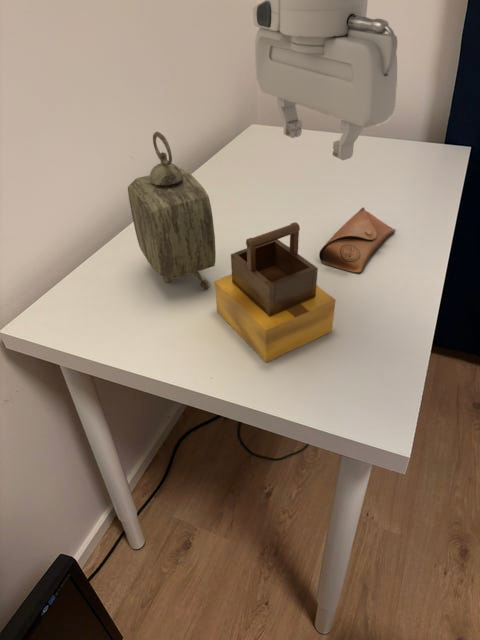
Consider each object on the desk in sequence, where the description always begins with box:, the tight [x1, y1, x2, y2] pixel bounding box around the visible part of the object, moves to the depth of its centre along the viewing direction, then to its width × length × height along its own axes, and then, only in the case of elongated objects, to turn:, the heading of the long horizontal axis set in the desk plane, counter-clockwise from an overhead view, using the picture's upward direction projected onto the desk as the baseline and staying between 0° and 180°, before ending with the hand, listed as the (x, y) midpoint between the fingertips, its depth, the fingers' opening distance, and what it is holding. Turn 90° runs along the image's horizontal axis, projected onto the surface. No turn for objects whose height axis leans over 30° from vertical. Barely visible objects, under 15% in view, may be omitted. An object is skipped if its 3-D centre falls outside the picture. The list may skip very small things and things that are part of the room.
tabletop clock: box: [127, 131, 216, 290], centre depth 77 cm, size 14×9×25 cm, turn 27°
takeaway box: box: [214, 273, 336, 363], centre depth 73 cm, size 14×12×6 cm
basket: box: [230, 221, 319, 317], centre depth 68 cm, size 10×8×10 cm
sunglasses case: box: [318, 207, 396, 274], centre depth 90 cm, size 18×7×7 cm, turn 147°
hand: (316, 146), depth 58 cm, fingers open, 8 cm apart
